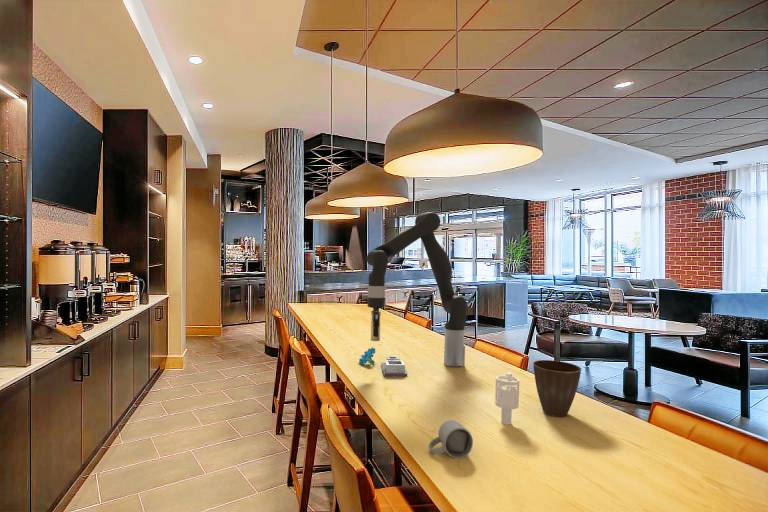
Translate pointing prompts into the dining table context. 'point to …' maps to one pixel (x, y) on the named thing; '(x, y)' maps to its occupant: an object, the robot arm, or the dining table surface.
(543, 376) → the plant pot
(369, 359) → the gear
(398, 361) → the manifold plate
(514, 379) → the white stepped cylinder
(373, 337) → the cylinder
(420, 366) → the dining table surface
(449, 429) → the ceramic mug
